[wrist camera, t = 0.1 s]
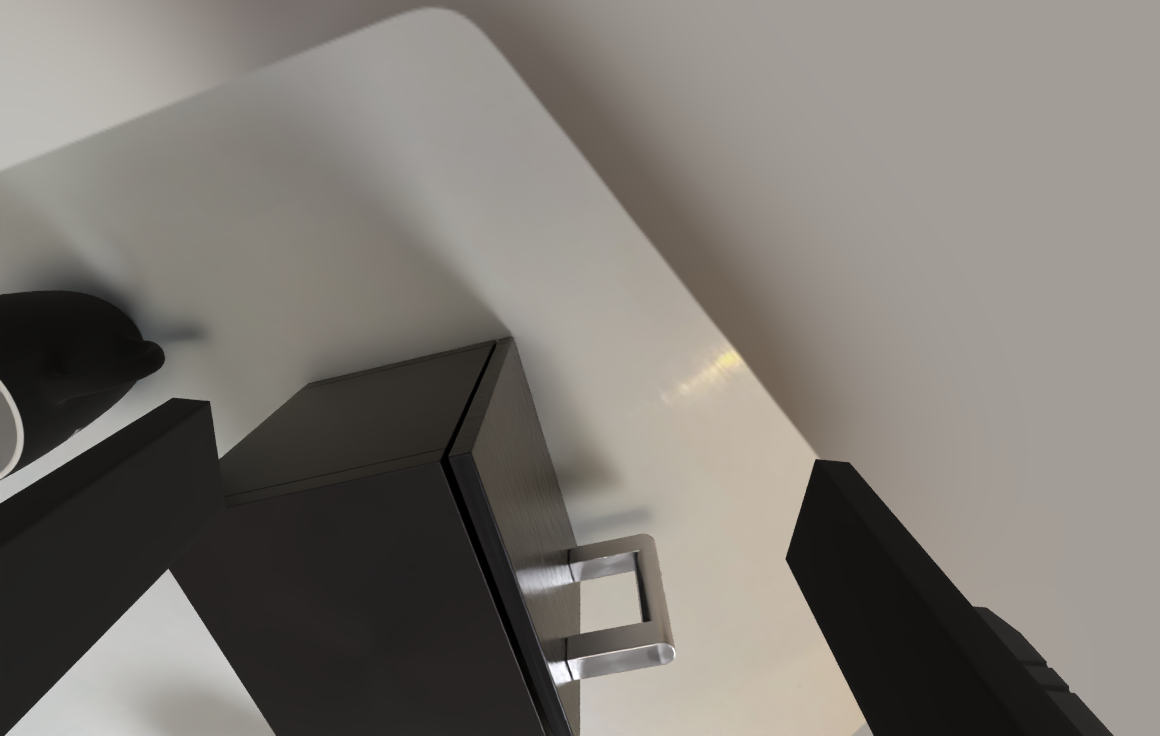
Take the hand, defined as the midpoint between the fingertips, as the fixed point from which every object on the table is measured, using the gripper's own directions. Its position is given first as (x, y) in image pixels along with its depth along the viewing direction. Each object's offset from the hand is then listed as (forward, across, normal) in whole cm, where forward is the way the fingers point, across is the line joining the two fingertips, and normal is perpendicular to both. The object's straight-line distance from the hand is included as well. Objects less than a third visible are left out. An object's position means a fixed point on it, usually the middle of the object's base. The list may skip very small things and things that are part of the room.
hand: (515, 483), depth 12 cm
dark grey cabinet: (+23, -7, -16) cm, 29 cm away
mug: (+24, -28, -8) cm, 37 cm away
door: (+23, +3, -12) cm, 26 cm away
